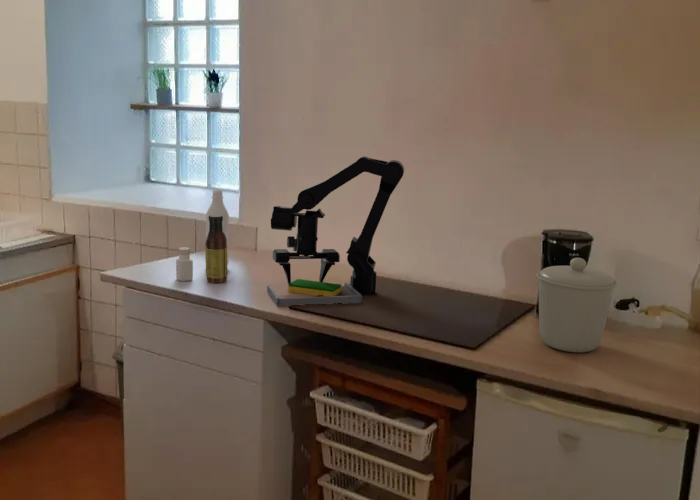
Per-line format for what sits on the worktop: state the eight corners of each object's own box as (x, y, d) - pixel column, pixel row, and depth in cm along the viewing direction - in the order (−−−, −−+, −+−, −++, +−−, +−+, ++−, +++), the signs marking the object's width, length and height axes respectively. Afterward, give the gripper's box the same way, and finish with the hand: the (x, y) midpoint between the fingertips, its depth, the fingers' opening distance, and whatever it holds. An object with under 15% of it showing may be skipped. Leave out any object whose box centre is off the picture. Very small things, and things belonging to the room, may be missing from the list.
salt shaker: (193, 280, 212) (193, 249, 210) (180, 282, 210) (180, 250, 208) (188, 277, 215) (188, 246, 213) (175, 279, 213) (175, 247, 211)
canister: (563, 362, 157) (574, 268, 152) (514, 337, 173) (522, 251, 169) (627, 354, 164) (638, 264, 160) (573, 330, 180) (582, 248, 176)
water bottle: (209, 265, 232) (210, 188, 227) (231, 267, 231) (232, 189, 226) (202, 270, 225) (202, 191, 220) (224, 272, 224) (225, 192, 219)
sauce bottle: (217, 277, 217) (217, 212, 213) (231, 281, 213) (232, 215, 209) (200, 281, 211) (200, 214, 207) (215, 285, 208) (216, 217, 204)
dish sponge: (332, 298, 201) (333, 289, 200) (287, 292, 205) (287, 283, 205) (341, 292, 207) (341, 284, 207) (297, 286, 212) (297, 278, 211)
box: (346, 289, 210) (347, 282, 210) (362, 303, 196) (362, 296, 196) (267, 291, 203) (267, 285, 203) (277, 306, 189) (277, 299, 189)
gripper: (331, 226, 216) (328, 277, 219) (270, 226, 210) (268, 278, 213) (341, 234, 205) (338, 286, 208) (277, 233, 200) (275, 288, 203)
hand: (304, 284), depth 209 cm, fingers open, 9 cm apart
